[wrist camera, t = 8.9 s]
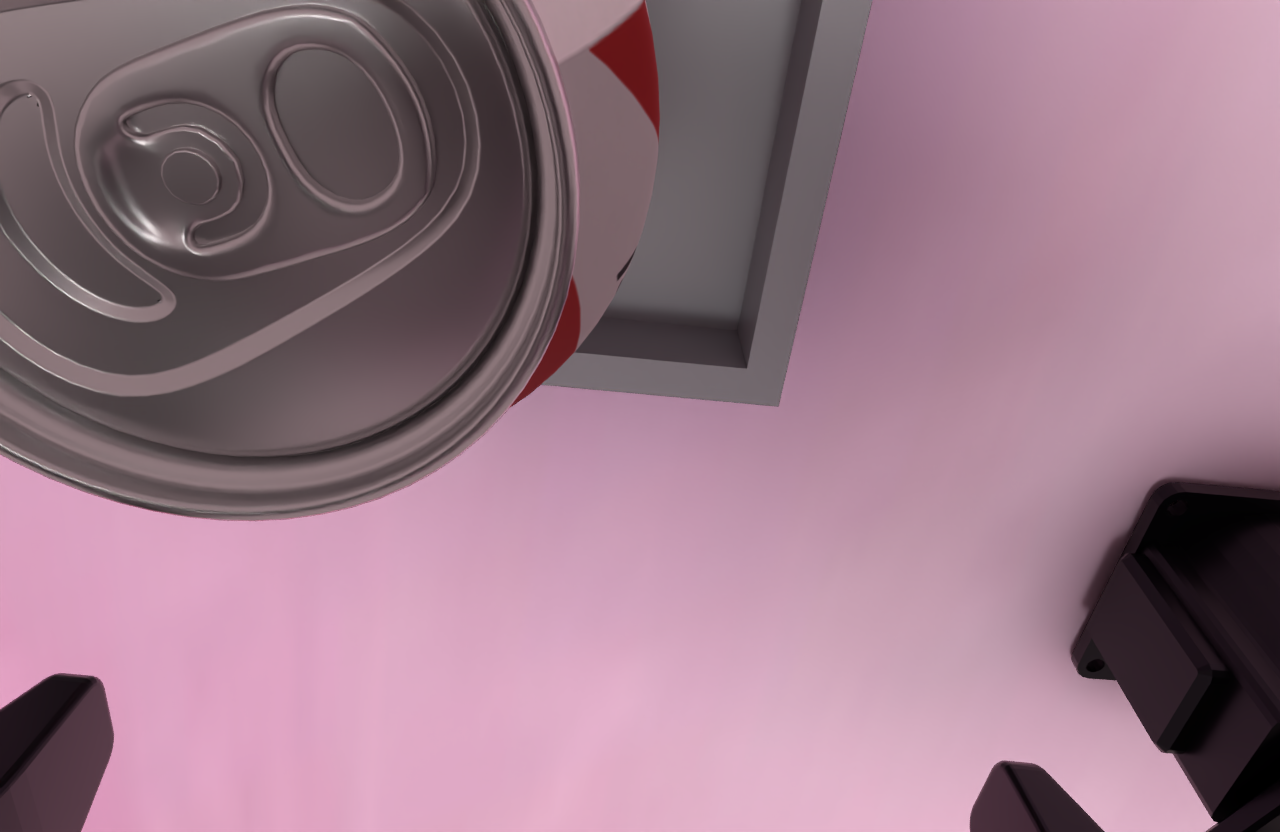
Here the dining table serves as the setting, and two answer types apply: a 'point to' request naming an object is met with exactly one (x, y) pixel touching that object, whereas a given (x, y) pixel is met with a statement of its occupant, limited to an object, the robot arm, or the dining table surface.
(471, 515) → the dining table surface
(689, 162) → the gray rectangular tray
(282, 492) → the soda can
